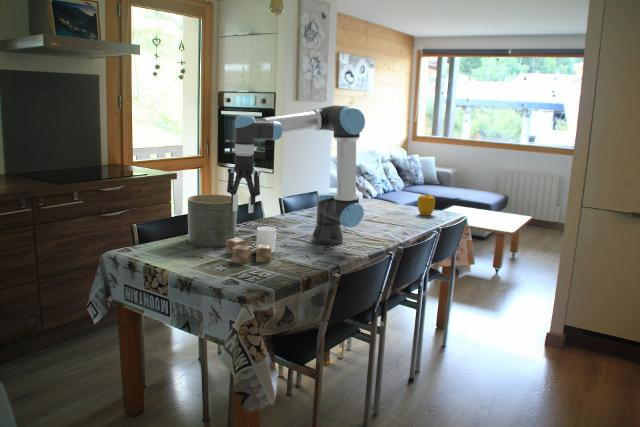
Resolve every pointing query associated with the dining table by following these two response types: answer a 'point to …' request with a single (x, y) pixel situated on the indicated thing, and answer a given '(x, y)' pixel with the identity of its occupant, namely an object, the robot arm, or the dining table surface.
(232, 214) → the planter
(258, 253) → the labelled cube
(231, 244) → the labelled cube a
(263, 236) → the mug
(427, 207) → the yellow bell pepper
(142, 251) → the dining table surface
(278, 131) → the robot arm
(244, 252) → the plain cube
